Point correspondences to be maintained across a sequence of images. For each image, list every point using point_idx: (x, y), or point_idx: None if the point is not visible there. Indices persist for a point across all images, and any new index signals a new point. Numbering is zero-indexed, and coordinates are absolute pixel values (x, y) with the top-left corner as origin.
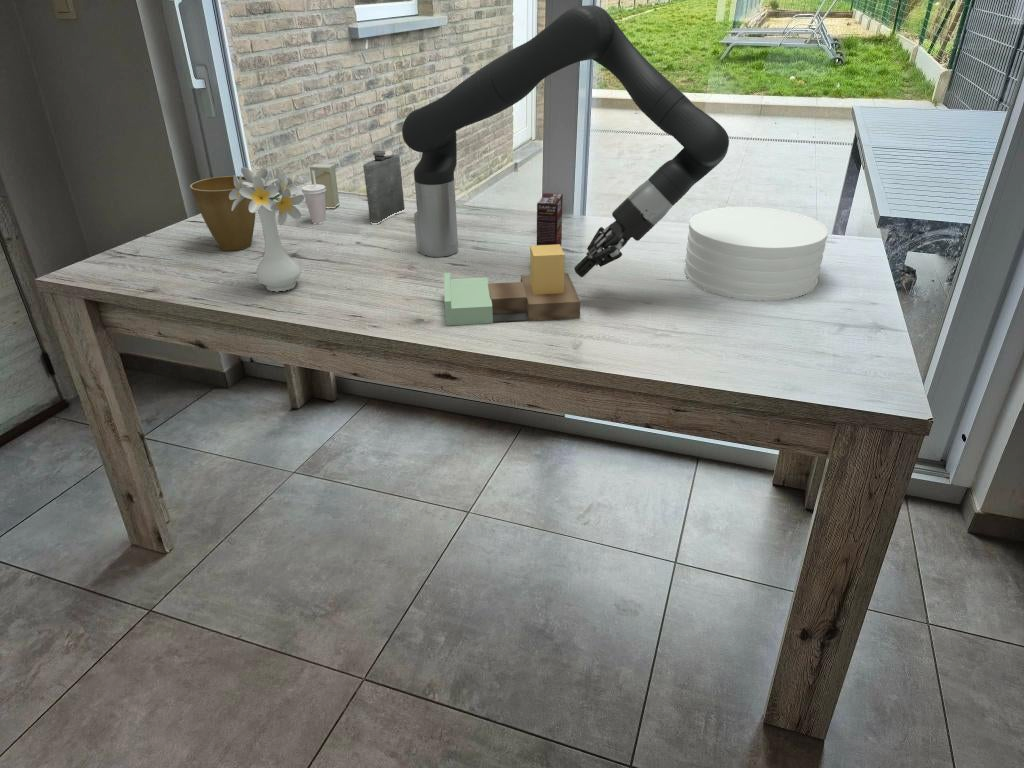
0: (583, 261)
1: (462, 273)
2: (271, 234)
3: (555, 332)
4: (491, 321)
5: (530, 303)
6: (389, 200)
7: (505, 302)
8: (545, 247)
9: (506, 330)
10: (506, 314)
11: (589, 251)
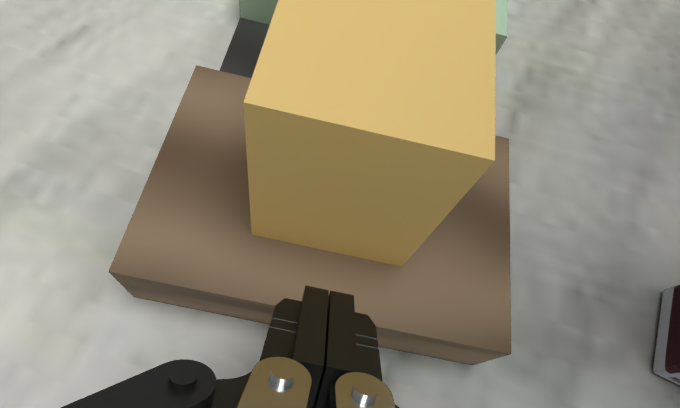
0: (309, 332)
1: (649, 66)
2: None
3: (60, 159)
4: (241, 14)
5: (201, 73)
6: None
7: None
8: (444, 52)
9: (168, 35)
10: None
11: (370, 403)
